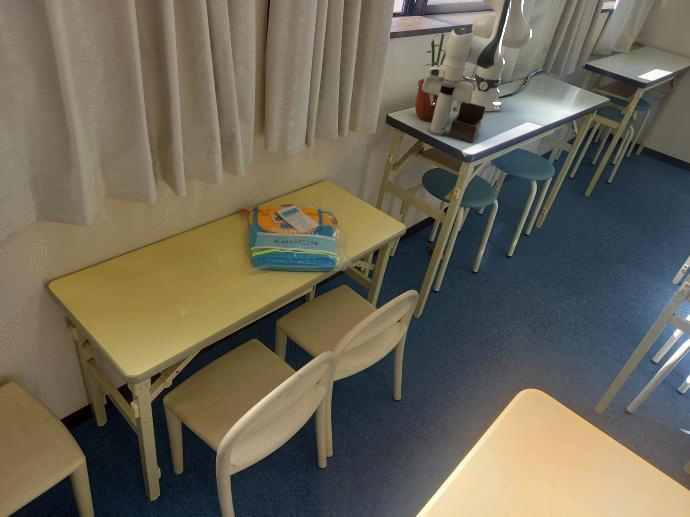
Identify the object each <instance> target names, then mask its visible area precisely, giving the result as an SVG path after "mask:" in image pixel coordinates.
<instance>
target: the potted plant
mask: <svg viewBox="0 0 690 517" xmlns="http://www.w3.org/2000/svg"><path fill="white" fill-rule="evenodd" d="M438 35H440V41H439V43H438V44H435V38H433V39H432V41H431V43H430V47H431V50H428V51H426V53H425V54H430V53H431V63H427V64H424V65H423V66H421V68H423V67H426V66H430V68H431V67H433V66H436V65H442V64H443V61H444V59H445V51H446V48H445V49H442V48H443V43H444V38H445V33H444V32H442V33H439V34H436V35H435V37H437V36H438ZM437 47H438V51H437V57H436V60H435V54H436V53H435V52H436V48H437ZM442 52H443V54H442V56H441V53H442ZM440 57H441V58H440ZM439 62H440V64H439ZM424 80H425V78H422V79H419V80H418V83H417V87H418V89H417V94H416V100H415V112H416V116H417V117H418V118H419V119H420V120H422V121H425V122H432V120H433V116H434V111H435V107H436V103H437V99H438V96H437V95H434V96H433V99H434V100H435V105H434V106H432V105H430V104H431V100H430V97H429V95H430V93H426V92H423V90H422V86H423V83H424Z"/></svg>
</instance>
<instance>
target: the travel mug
mask: <svg viewBox="0 0 690 517" xmlns="http://www.w3.org/2000/svg"><path fill="white" fill-rule="evenodd" d="M454 89H455V87H453V88H449V87H445V86H441V90H440V94H439V96H438V99H437V103H436V107H435V111H434V116H433V120H432V121H431V125H430V129H429V132H430V133H431V134H432V135H436V136H444V135H446V130H447V128H448V122H449V120H450V115H451V111H452V107H453V104H454V100H453V99H452V95H453V91H454Z"/></svg>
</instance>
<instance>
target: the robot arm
mask: <svg viewBox="0 0 690 517" xmlns="http://www.w3.org/2000/svg"><path fill="white" fill-rule="evenodd" d="M482 1H483V2H484V3H485V4H486V5H487V6H488V7H490V8H491V9H492V10H493V11H494V12H495V15H494V14H480V15H478V16H477V17H476V18H475V19H474V21H473V23H472V26H471V28H470V27H468V26H465V25H461V26H460V25H457V26H455V27H453V28H452V30H451V31H450V34H449V37H448V39H447V40H448V41H447V43H446V46H445V49H446V51H445V50H444V51H445V59H444V61H443V64H442V65H440V64H438V65H435V66H433V67H431V66H430V68H429V69H428V72H427V75H426V76H425V78H424V79H425V80H424V83H423V86H422V90H423V92H426V93H430V95H429V97H430V100H431V104H430V105H432V106H434V105H435V100H434V99H433V96H434V95H437V96H439V94H440V90H441V86H445V87H449V88H453V87H455V89H454V91H453V95H452V99H453V101H457V105H454V106H453V109H452V112H455V113H458V111H459V108H460V106H461V104H462V102H464V103H473V104H477V105H480V106H484V107H486V108H485V112H500V105H501V104H502V102H500V100H499V99H502V98H506V97H509V96H512V95H515V94H517V93H518V92H520V91H521V90H522V89H523V88H524V87H525V86H526V84H527V82H528V81H529V80H530V79H531V77H532V76H533V75H535V74H537V73H540V72H544V71H545V69H544V68H541V69H539V70H536V71H533V72H532V73H530V74H529V75H528V77H527V78H528V80H527V82H526V83H525V85H523V84H522V85H523V86H522V85H521V87H519V88H518V89H516V90H515V91H513V92H511V93H507V94H504V95H500V92H501V89H500V88H499V87H500V84H501V76H502V73H503V70H504V67H505V59H504V57H503V55H502V54H501V50H502V47H504V48H508V49H520V50H521V49H523V48H524V47H526V46H527V45H528V44H529V43H530V40H531V37H532V28H531V26H530V25H529V23H528V22H527V20H526V18H525V15H524V9H523V5H524V0H482ZM467 63H469V64H471V65H475V66H477V70H476V73H475V74H474V76H473V77H469V76H466V75H464V74H465V71H466V67H467ZM543 69H544V70H543Z"/></svg>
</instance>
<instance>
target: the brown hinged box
mask: <svg viewBox="0 0 690 517" xmlns="http://www.w3.org/2000/svg"><path fill="white" fill-rule="evenodd" d="M485 108H486V107H484V106H480V105H477V104H473V103H464V102H462V104H461V105H460V106H459V108H458V112H457V114H456V115H455V117H454V118H453V119H452V121H451V124H450V128H449V132H448V136H447V137H448V138H452V139H455V140H458V141H462V142H466V143H470V144H473V143H474V141H475V139H476V138H477V137H478V136H479V131H480V129H481V125H482V121H483V119H484V115H485V112H486V111H485Z"/></svg>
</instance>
